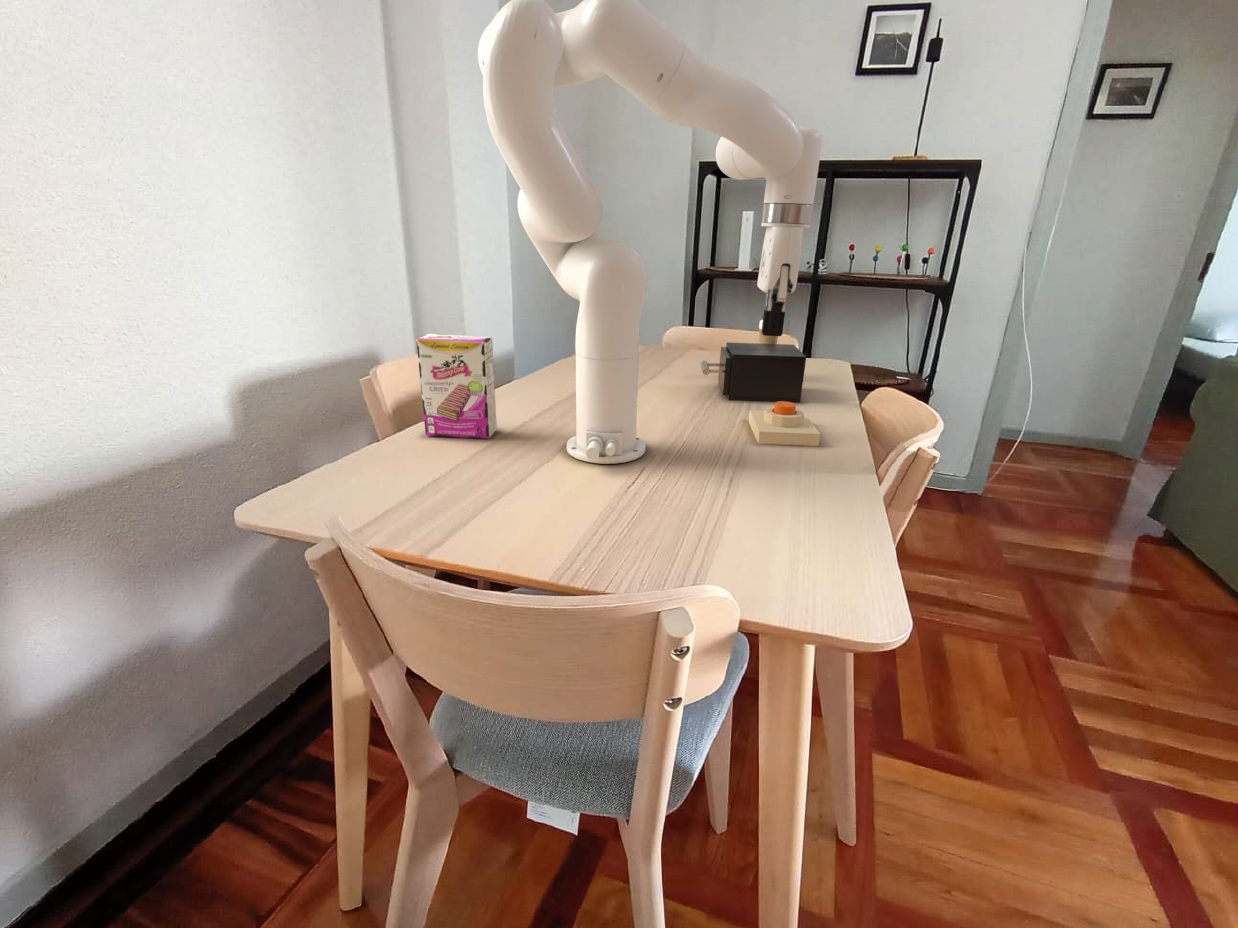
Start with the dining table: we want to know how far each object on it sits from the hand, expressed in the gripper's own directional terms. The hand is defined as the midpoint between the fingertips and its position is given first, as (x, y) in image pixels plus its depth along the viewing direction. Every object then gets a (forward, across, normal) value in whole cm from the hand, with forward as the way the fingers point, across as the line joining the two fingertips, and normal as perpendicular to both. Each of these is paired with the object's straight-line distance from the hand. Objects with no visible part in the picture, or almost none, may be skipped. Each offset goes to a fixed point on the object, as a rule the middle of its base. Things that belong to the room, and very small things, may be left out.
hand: (771, 334), depth 102 cm
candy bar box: (+18, +9, -51) cm, 55 cm away
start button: (+13, +1, +4) cm, 14 cm away
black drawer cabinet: (+17, -25, +3) cm, 30 cm away
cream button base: (+17, +1, +4) cm, 17 cm away
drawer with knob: (+16, -25, -1) cm, 29 cm away
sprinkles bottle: (+17, -39, +6) cm, 43 cm away
